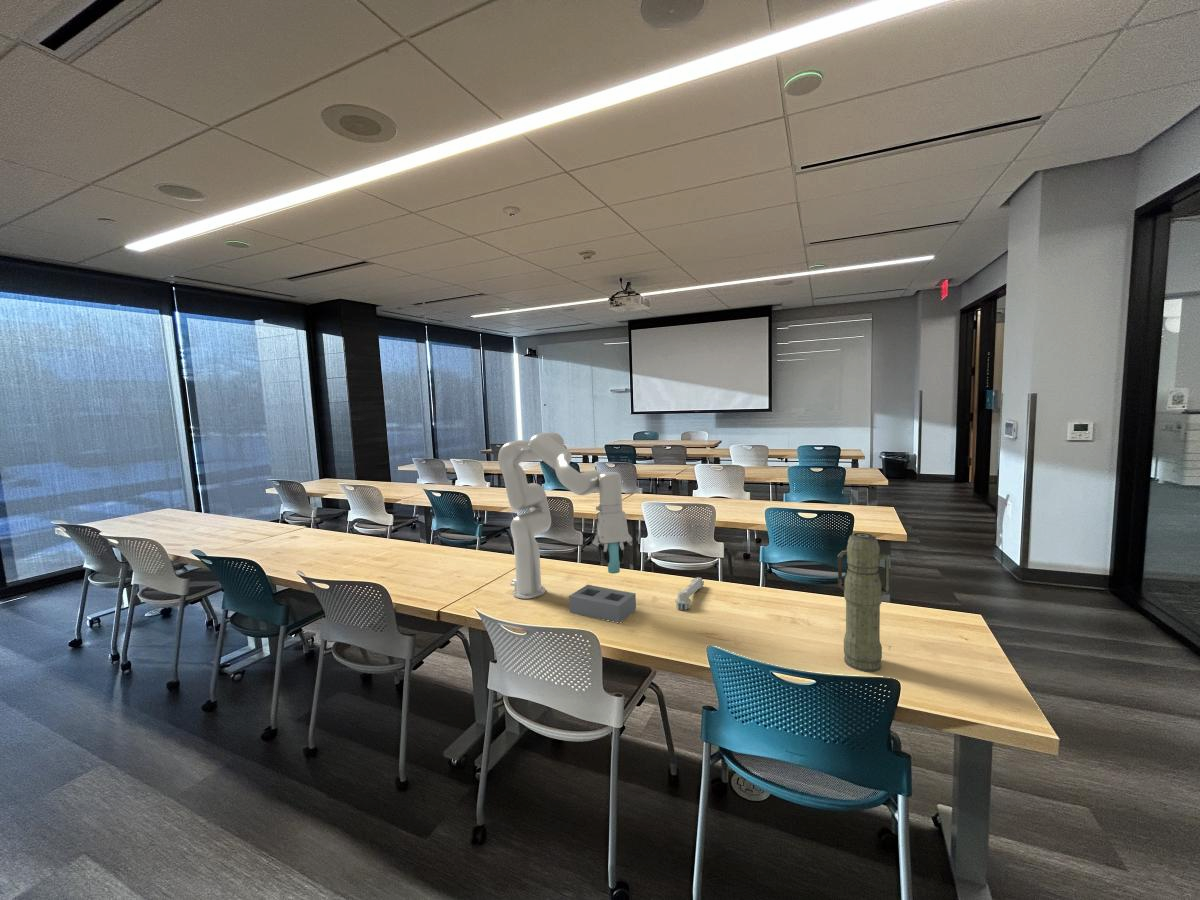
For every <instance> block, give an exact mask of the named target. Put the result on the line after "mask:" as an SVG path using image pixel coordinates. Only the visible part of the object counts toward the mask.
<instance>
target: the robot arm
mask: <svg viewBox="0 0 1200 900" xmlns="http://www.w3.org/2000/svg"><path fill="white" fill-rule="evenodd" d="M497 456H498V457H497V461H498V465H499V469H500V471H501V474H502V477H503V480H504V485H505V489H506V490H505V491H506V495H507V498H508V503H509V507H510V508H511V509H512V510H514V511H517V512H518V511H519V512H520V511H524V510H528V509H529V511H527V512H524V513H521V514H518V515H517V516H515V517H514V518H513V519H512V520H511V523H510V531H511V532H510V533H511V536H512V541H513V547H514V563H515V564H514V565H515V578H513V579H512V580H511V582H510V583H509V584H510V585H509V586H513V587H514V589H513V591H512V595H513V597H515V598H518V599H524V600H525V599H526V600H527V599H535V598H539V597H540V596H543V595H544V594H545V593H546V587H545V586H543V585H542V577H541V576H542V573H541V557H540V547H539V543H538V541H537V539H536V536H538V535H540V534H543V533H546V532H547V531H549V530H550V528H551V525H552V515H551V511H550V506H549V503H548V499H547V498H548V497H547V493H546V491H545V489H544V487H542V486H541V484H538V483H535V482H531V483H528V478H527V474H526V472H525V470H524V469H523V467H522V466H521V465H520V463H526V462H532V461H537V460H542V461H543V462H544V463H545V464H547V465H548V466H549V467H550V468H552V469H553V470H554V471H555V474H556V478H557V479H558V481H559V482H560V484H561V485H562V486H564V487H565V488H566V489H568V490H569V491H570V492H572V493H573V494H575V495H578V496H586V495H590V494H592V493H593V494H594V493H598V492H599V493H598V494H599V505H598V506H595V510H596V511H599V512H598V515H597V523H596V535H595V537H594V539H593V540H592V545H594V546H596V547H598V548H599V549H601V550H602V553H603V554H602V556H603V561H605V563H606V564H608V563H609V552H608V550H607V547H608V543H617V542H619V562H621V563H623V559H624V550H625V548H626V546H627V545H628V544H629V543H630V542H632V541H633V537H632V535H630V533H629V528H628V523H627V515H626V512H625V511H623V495H622V476H621V474H620V473H619V472H617V471H602V470H596V469H595V470H594V469H593V470H589V471H584V472H579V471H577V469H575V468H573V467H572V466H571V465H570V463H571V460H572V452H571V451H570V450H569V449H567V448H566V447H565V441H564V438H563V437H562V436H561V435H560V434H559V433H557V432H555V431H554V432H553V431H552V432H551V431H550V432H540V433H537V434H536V433H535V434H534V435H533V436H532V437H531V438H530V439H521V440H520V439H519V440H513V441H509V442H505V444H503V445H502V446H501V447H500V449H499V452H498V455H497Z"/></svg>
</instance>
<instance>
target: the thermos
mask: <svg viewBox="0 0 1200 900" xmlns="http://www.w3.org/2000/svg"><path fill="white" fill-rule="evenodd" d="M880 549H881V547H880V545H879V542H878V539H877V537H876V536H875V535H873V534H870V533H868V532H867V533H865V532H855V533H852V534H850V535H849V538H848V540H847V545H846V549H845V550H843V549H842V550H841V552H839V554H837V575H838V577H837V578H838V579H837V581H838V582H837V585H838V587H839V588H840V589H841V590H842V591H843V595H844V596H843V597H844V600H845V634H844V638H843V653H844V663H845V664H846V665H847V666H849V667H850V668H852V669H854V670H856V671H860V672H865V673H866V672H867V673H873V672H878V671H879V670H881V668H882V663H881V662H882V657H883V646H882V643H881V640H880V639H881V638H880V637H881V636H880V631H881V630H880V629H881V625H880V624H881V623H880V622H881V620H880V619H881V618H880V617H881V616H880V615H881V604H882V603H883V597H884V595H889V592H890V560H889V558H888V556H887V555H886V554H885V553H881V552H880V551H881V550H880ZM844 555H845V556H846V563H847V567H846V573H845V574H844V578H843V562H842V561H843V556H844ZM882 559H883V560H884V587H883V581H882V579H881V576H880V569H879V568H880V560H882Z"/></svg>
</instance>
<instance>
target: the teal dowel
mask: <svg viewBox="0 0 1200 900" xmlns="http://www.w3.org/2000/svg"><path fill="white" fill-rule="evenodd" d="M607 550H608V552H609V563H607V572H608V573H609V574H613V575H614V574H619V573H620V572H621V567H620V565H621V564H620V561H619V542H617V543H608V547H607Z"/></svg>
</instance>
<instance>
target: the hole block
mask: <svg viewBox="0 0 1200 900" xmlns="http://www.w3.org/2000/svg"><path fill="white" fill-rule="evenodd" d="M636 597H637V596H636V593H634V592H630V591H626V590H625V591H624V590H618V589H613V588H608V587H602V586H597V585H592V584H586V585H584V586H583V587H581V588H580V589H578V590H576V591H575V592H573V593H571V594H570V595H569V596H568V603H569V613H571V614H575V615H578V616H585V617H587V618H592V617H594V618H593V619H597V618H599V619H598V620H601V619H604V620H603V621H606V620H609V621H608V622H610V621H614V622H618V623H617V624H619V623H620V622H621V621H622V622H623V621H624V619H625V618H626V617H627V616H628V617H629V616H631V615H632V614H633V613H634V612H636V611H637V599H636ZM635 610H636V611H635ZM632 612H633V613H632ZM631 613H632V614H631ZM630 614H631V615H630ZM628 617H627V618H628ZM627 618H626V619H627ZM626 619H625V620H626ZM614 622H613V623H614ZM622 622H621V623H622ZM621 623H620V624H621Z"/></svg>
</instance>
